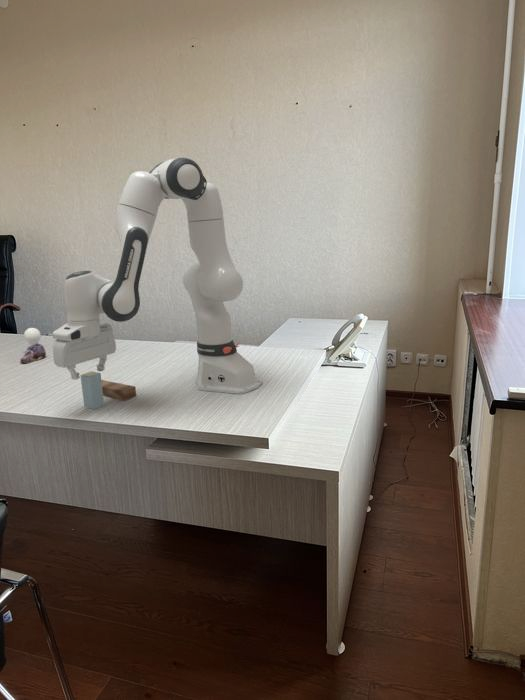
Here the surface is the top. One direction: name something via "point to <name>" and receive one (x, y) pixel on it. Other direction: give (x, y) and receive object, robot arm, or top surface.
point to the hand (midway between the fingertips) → (88, 374)
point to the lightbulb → (32, 336)
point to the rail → (118, 390)
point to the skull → (34, 353)
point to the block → (92, 390)
